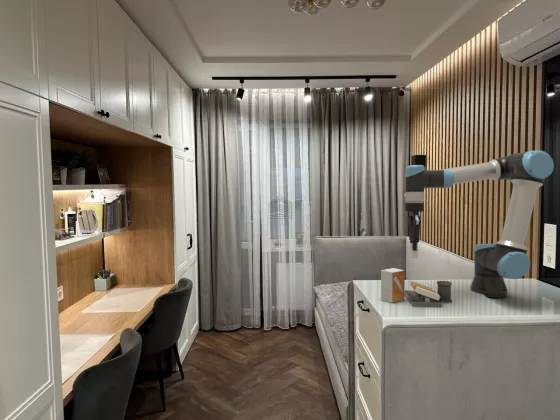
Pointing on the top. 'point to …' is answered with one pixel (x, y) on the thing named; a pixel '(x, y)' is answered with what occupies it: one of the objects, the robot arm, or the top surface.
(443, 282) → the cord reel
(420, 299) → the plate
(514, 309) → the top surface
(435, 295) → the beige rectangular tile
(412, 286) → the paddle mid
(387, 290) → the small box
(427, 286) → the paddle far
